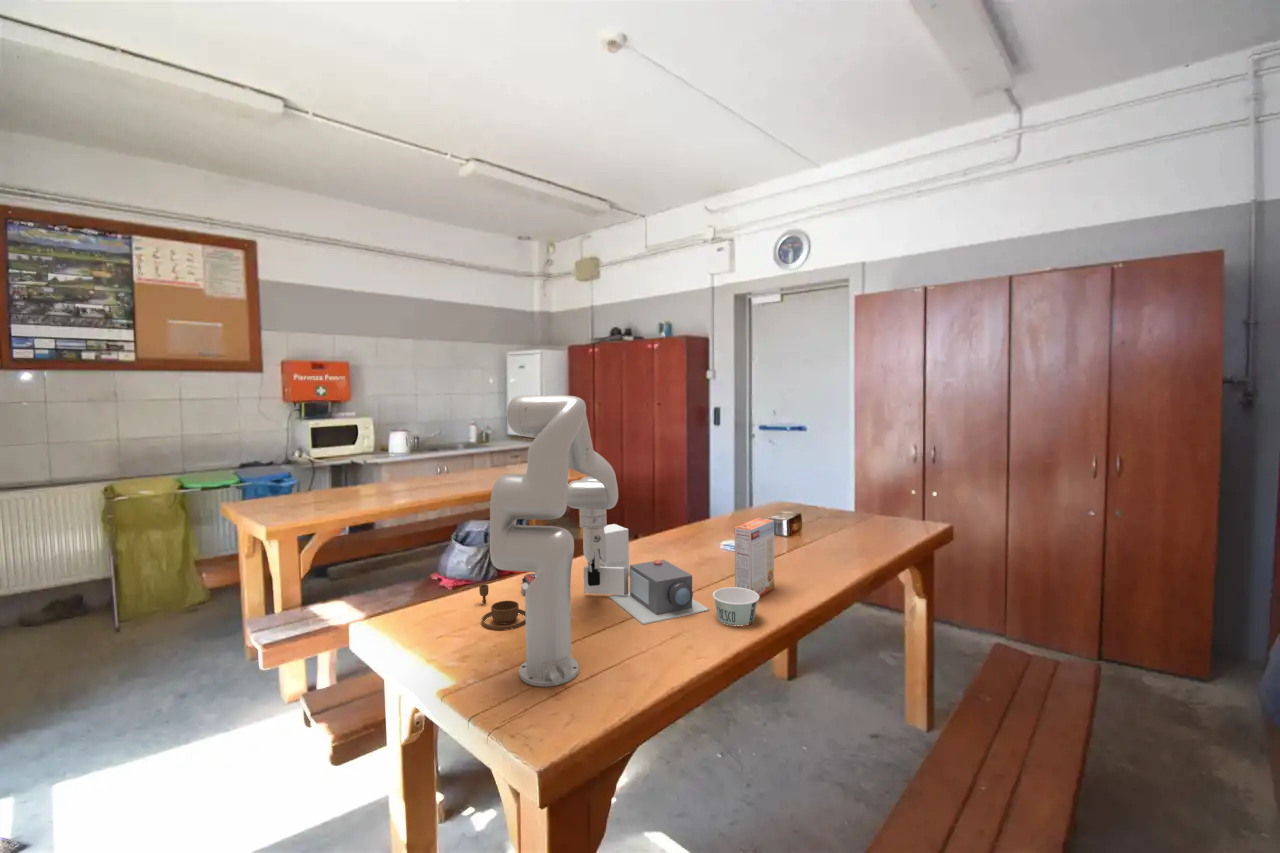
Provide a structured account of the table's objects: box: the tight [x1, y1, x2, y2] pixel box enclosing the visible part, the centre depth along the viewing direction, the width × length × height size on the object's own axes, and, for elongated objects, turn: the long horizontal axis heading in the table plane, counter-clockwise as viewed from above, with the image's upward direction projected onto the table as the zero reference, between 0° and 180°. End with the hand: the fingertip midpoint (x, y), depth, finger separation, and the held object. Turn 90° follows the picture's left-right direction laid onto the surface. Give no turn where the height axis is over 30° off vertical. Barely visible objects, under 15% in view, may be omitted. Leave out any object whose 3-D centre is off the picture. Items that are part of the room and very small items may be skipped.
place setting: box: [478, 584, 526, 631], centre depth 158 cm, size 18×20×6 cm
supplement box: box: [600, 523, 630, 575], centre depth 191 cm, size 9×9×15 cm
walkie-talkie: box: [520, 572, 537, 597], centre depth 175 cm, size 9×4×20 cm
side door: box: [583, 565, 629, 595], centre depth 171 cm, size 13×1×8 cm, turn 83°
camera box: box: [608, 559, 710, 626], centre depth 165 cm, size 22×20×10 cm
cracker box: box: [734, 517, 775, 598], centre depth 172 cm, size 14×6×21 cm, turn 141°
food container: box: [712, 586, 761, 627], centre depth 154 cm, size 12×12×6 cm
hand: (593, 584), depth 168 cm, fingers closed
